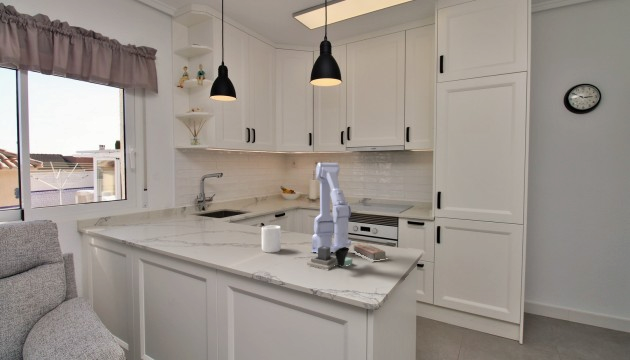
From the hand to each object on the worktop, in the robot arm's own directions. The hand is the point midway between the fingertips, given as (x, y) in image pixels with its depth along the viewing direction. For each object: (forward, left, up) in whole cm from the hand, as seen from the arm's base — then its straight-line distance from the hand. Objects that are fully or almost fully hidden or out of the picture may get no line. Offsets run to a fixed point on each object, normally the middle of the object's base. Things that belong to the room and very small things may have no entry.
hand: (340, 265), depth 127 cm
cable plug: (0, +4, -1) cm, 4 cm away
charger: (-8, 0, 0) cm, 8 cm away
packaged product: (+3, +22, -2) cm, 22 cm away
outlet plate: (-8, 0, -1) cm, 8 cm away
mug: (-42, +3, -1) cm, 42 cm away
